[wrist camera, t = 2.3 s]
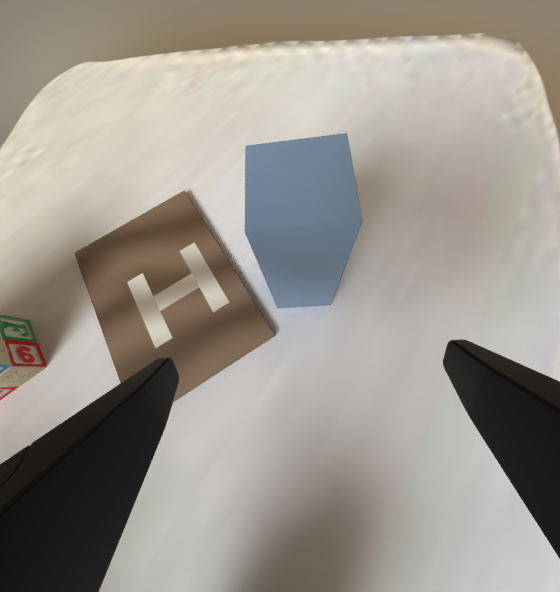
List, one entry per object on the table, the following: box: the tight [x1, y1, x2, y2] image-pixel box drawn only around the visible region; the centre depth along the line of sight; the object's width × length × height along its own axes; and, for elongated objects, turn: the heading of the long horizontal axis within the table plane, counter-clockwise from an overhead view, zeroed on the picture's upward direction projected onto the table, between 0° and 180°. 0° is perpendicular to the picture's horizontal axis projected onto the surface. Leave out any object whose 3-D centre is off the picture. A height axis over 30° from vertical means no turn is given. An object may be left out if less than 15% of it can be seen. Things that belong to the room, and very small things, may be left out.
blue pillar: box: [245, 133, 362, 308], centre depth 17 cm, size 5×5×13 cm
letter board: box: [75, 191, 275, 402], centre depth 24 cm, size 20×14×1 cm
